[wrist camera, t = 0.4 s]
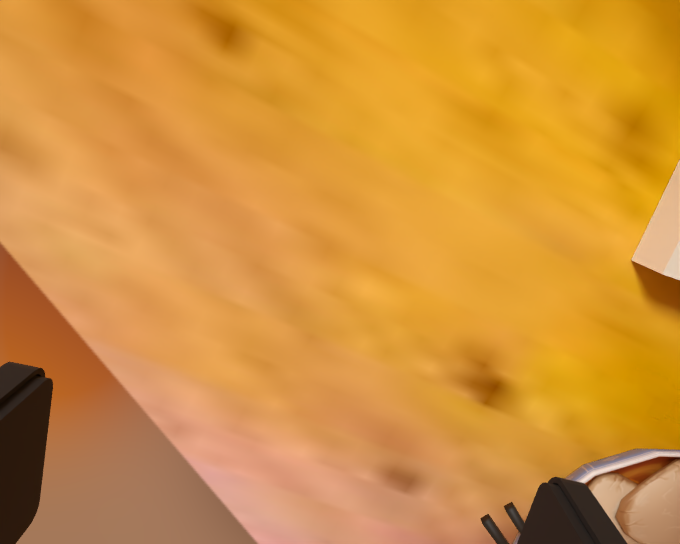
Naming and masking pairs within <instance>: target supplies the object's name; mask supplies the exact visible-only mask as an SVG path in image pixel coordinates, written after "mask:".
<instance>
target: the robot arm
mask: <svg viewBox="0 0 680 544" xmlns="http://www.w3.org/2000/svg"><path fill="white" fill-rule="evenodd" d="M52 390H53V382H52V380H51V379H50V378H45V373H44V370H43V369H42V368H38V367H33V366H28V365H23V364H19V363H14V362H8V363H6V364H4V365H3V366H1V367H0V544H16V542H17V541H18V540H19V538H20V537H21V536H22V535H23V533H24V532H25V531H26V529H27V528H28V527H29V525H30V524H31V522H32V521H33V519H34V516H35V514H36V512H37V509H38V506H39V501H40V493H41V484H42V476H43V467H44V458H45V450H46V441H47V433H48V424H49V416H50V407H51V398H52ZM517 544H627V542H626V541H625V539H624V538H623V536H622V535H621V534H620V532H619V531H618V529H617V528H616V526H615V525H614V523H613V522H612V521H611V519H610V518H609V516H608V515H607V513H606V512H605V510H604V509H603V508H602V506H601V505H600V503H599V502H598V500H597V499H596V497H595V496H594V495H593V493H592V492H591V490H590V489H589V487H588V486H587V485H586V484H585V483H582V482H577V481H572V480H568V479H563V478H558V477H553V478H551V479H550V480H549V482H548V483H542V484H541V485H540V486H539V488H538V491H537V493H536V496H535V498H534V501H533V503H532V506H531V509H530V511H529V514H528V516H527V519H526V521H525V524H524V527H523V529H522V532H521V534H520V537H519V540H518V542H517Z"/></svg>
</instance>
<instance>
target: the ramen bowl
mask: <svg viewBox="0 0 680 544" xmlns="http://www.w3.org/2000/svg"><path fill="white" fill-rule="evenodd" d="M564 479H568V480H572V481H577V482H582V483H585V484H586V485H587V486H588V487H589V489H590V490H591V492H592V493H593V495H594V496H595V497H596V499H597V500H598V502H599V503H600V505H601V506H602V508H603V509H604V510H605V512H606V513H607V515H608V516H609V518H610V519H611V521H612V522H613V523H614V525H615V526H616V528H617V529H618V531H619V532H620V534H621V535H622V536H623V538H624V539H625V541H626V542H627V544H680V450H665V449H633V450H630V451H627V452H623V453H620V454H617V455H613V456H610V457H607V458H604V459H600V460H597V461H594V462H591V463H587V464H584V465H582V466H581V467H579V468H578V469H577V470H575V471H574V472H573V473H571V474H570V475H568V476H567V477H566V478H564ZM504 508H505V510H506V512H507V514H508V515H509V517H510V518H511V520H512V522H513V523H514V525H515V526H516V528H517V529H518V531H519V532H518V534H517V535H516V537H515V539H514V542H513V544H517V542H518V540H519V537H520V534H521V532H522V529H523V527H524V524H525V523H524V521H523V520H522V518H521V516H520V515H519V513H518V511H517V510H516V508H515V506H514V505H513V503H512V502H511V503H509V504H507V505H505V506H504ZM481 521H482V523H483V525H484V527H485V528H486V529H487V531H488V532H489V533H490V535H491V536H492V537H493V539H494V540H495V541H496V543H497V544H509V543H508V541H507V540H506V538H505V537H504V536H503V534H502V533H501V531H500V530H499V528H498V527H497V526H496V524H495V523H494V521H493V520H492V518H491V517H490V516H489V514H487V515H485V516H484V517H482V518H481Z"/></svg>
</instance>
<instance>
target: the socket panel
mask: <svg viewBox="0 0 680 544" xmlns="http://www.w3.org/2000/svg"><path fill="white" fill-rule="evenodd" d="M631 260H632V261H634V262H636V263H639V264H641V265H643V266H645V267H647V268H650V269H652V270H654V271H656V272H658V273H660V274H663V275H666V276H669V277H672V278H674V279H677V280H680V160H679V162H678V164H677V166H676V168H675V170H674V173H673V175H672V177H671V179H670V181H669V183H668V185H667V187H666V189H665V191H664V193H663V195H662V197H661V199H660V202H659V204H658V206H657V208H656V210H655V212H654V214H653V216H652V218H651V220H650V222H649V224H648V226H647V228H646V230H645V233H644V235H643V237H642V239H641V241H640V243H639V245H638V247H637V249H636V251H635V253H634V255H633V257H632V259H631Z"/></svg>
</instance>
